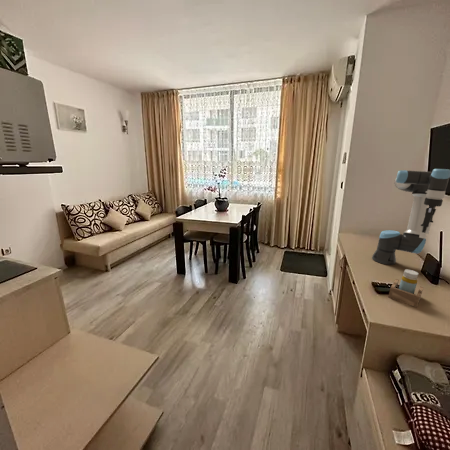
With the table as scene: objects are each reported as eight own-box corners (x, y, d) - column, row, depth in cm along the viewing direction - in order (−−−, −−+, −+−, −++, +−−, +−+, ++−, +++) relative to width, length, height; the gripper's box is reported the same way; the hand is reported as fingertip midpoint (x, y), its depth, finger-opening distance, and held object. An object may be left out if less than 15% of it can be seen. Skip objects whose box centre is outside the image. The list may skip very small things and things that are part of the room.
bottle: (415, 300, 133) (422, 275, 129) (400, 298, 134) (407, 274, 130) (408, 293, 140) (415, 270, 135) (395, 292, 141) (401, 268, 137)
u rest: (393, 288, 145) (396, 279, 144) (420, 297, 137) (423, 287, 135) (388, 297, 135) (390, 287, 134) (416, 307, 127) (419, 297, 125)
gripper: (428, 195, 144) (418, 229, 149) (422, 199, 126) (412, 238, 132) (444, 197, 139) (434, 232, 144) (441, 201, 121) (429, 242, 127)
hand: (423, 235), depth 138 cm, fingers open, 13 cm apart
